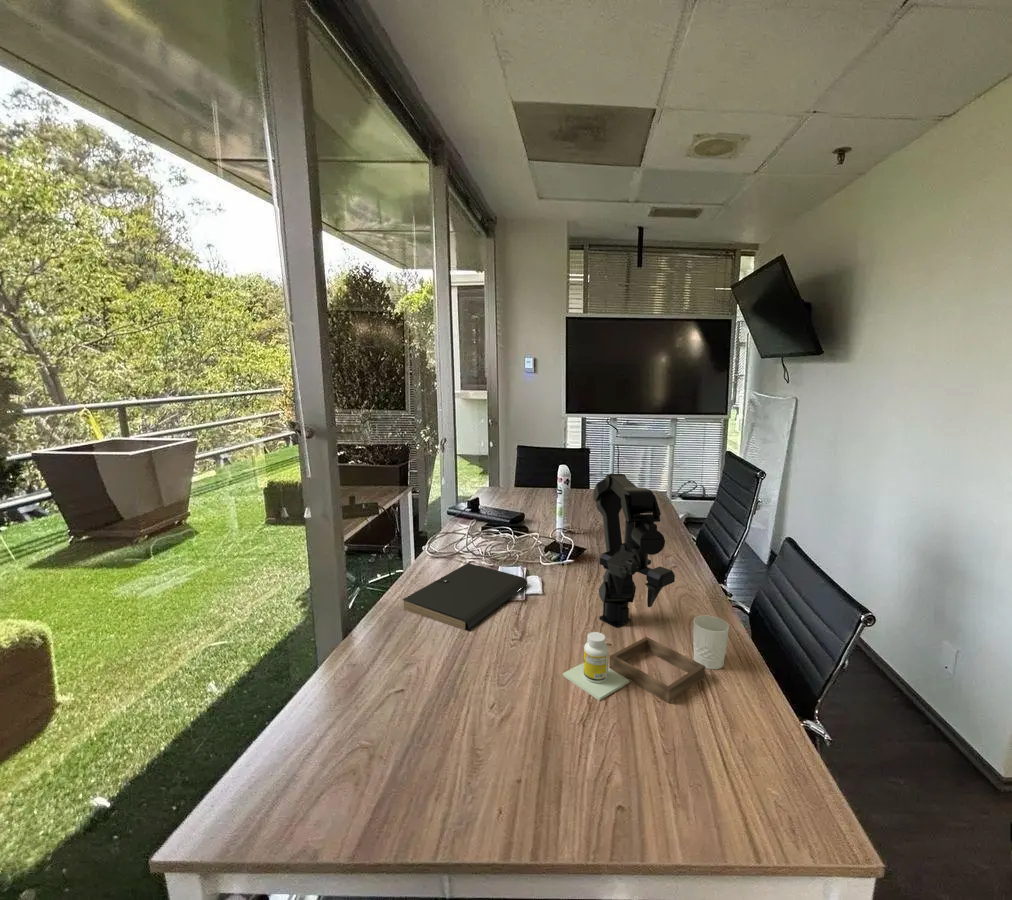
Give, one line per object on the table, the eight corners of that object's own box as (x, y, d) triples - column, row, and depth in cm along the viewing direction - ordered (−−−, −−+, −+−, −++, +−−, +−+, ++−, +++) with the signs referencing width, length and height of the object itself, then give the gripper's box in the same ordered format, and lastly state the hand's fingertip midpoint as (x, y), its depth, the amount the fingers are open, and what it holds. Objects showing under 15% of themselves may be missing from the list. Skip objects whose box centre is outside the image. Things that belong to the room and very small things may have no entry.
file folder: (467, 561, 171) (527, 577, 158) (467, 572, 171) (527, 589, 159) (401, 597, 143) (468, 620, 130) (402, 611, 143) (468, 634, 131)
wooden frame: (609, 667, 115) (609, 655, 114) (645, 647, 123) (646, 636, 123) (668, 703, 102) (669, 690, 102) (704, 678, 111) (705, 666, 110)
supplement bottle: (590, 666, 114) (592, 627, 113) (611, 675, 111) (613, 635, 109) (578, 677, 110) (580, 637, 109) (600, 687, 107) (601, 645, 105)
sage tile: (562, 675, 112) (562, 673, 112) (592, 660, 118) (592, 658, 118) (599, 700, 103) (599, 698, 103) (629, 682, 109) (629, 680, 109)
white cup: (705, 673, 113) (708, 633, 111) (684, 655, 120) (686, 617, 119) (733, 668, 115) (736, 628, 113) (711, 650, 122) (714, 613, 121)
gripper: (585, 536, 121) (584, 595, 123) (648, 558, 107) (645, 624, 109) (614, 528, 128) (612, 584, 130) (677, 547, 113) (674, 610, 116)
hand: (633, 600), depth 121 cm, fingers open, 9 cm apart
